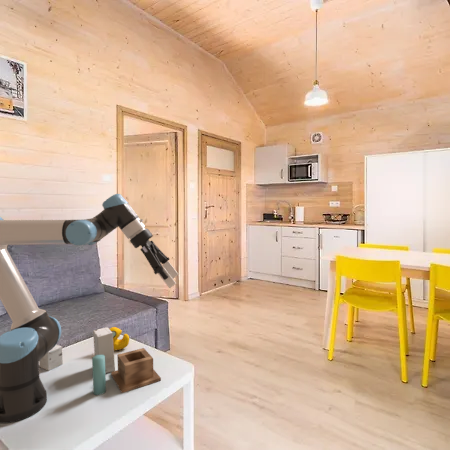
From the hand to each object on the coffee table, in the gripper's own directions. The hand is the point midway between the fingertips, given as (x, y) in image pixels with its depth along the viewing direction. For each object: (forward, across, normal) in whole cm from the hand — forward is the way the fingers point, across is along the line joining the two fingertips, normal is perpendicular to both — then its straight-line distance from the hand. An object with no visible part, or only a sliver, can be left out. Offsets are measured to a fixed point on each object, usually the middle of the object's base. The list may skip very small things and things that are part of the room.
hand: (174, 281), depth 117 cm
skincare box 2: (+13, +9, +44) cm, 47 cm away
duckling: (+13, +25, +44) cm, 52 cm away
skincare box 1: (0, +13, +61) cm, 63 cm away
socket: (+20, +1, +33) cm, 39 cm away
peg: (+14, -7, +42) cm, 44 cm away
